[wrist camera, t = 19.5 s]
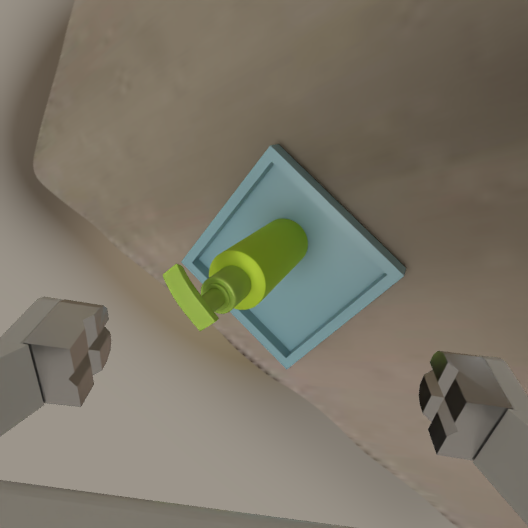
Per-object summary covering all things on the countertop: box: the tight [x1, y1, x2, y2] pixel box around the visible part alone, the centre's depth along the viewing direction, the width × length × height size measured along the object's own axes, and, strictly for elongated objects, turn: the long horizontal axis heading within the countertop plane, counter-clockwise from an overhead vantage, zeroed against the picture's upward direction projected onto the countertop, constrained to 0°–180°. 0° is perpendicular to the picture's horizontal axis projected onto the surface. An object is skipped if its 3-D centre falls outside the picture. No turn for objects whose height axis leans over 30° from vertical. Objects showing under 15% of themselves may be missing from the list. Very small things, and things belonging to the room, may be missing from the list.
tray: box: [182, 144, 406, 369], centre depth 48 cm, size 20×20×2 cm
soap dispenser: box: [163, 218, 308, 331], centre depth 39 cm, size 6×7×20 cm
